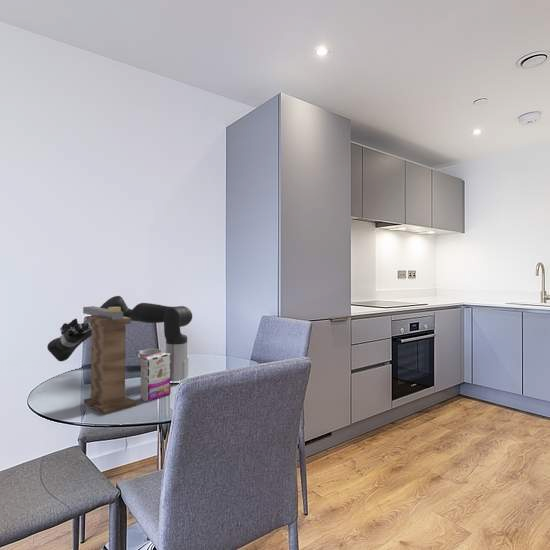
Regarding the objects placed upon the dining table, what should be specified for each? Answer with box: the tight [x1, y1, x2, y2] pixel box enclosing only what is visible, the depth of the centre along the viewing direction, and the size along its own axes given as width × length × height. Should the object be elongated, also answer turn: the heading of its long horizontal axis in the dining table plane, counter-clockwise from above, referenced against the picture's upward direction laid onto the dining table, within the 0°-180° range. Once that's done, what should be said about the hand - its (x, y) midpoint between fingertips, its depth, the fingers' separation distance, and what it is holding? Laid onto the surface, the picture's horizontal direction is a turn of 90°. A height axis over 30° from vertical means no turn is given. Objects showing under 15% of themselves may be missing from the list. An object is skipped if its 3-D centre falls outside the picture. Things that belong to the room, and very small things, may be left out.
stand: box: [83, 315, 138, 416], centre depth 141 cm, size 17×12×32 cm
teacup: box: [136, 348, 162, 365], centre depth 194 cm, size 14×11×8 cm
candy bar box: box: [140, 351, 172, 402], centre depth 150 cm, size 11×5×16 cm, turn 148°
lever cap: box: [82, 305, 123, 320], centre depth 145 cm, size 24×4×4 cm, turn 49°
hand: (87, 319), depth 153 cm, fingers open, 8 cm apart
